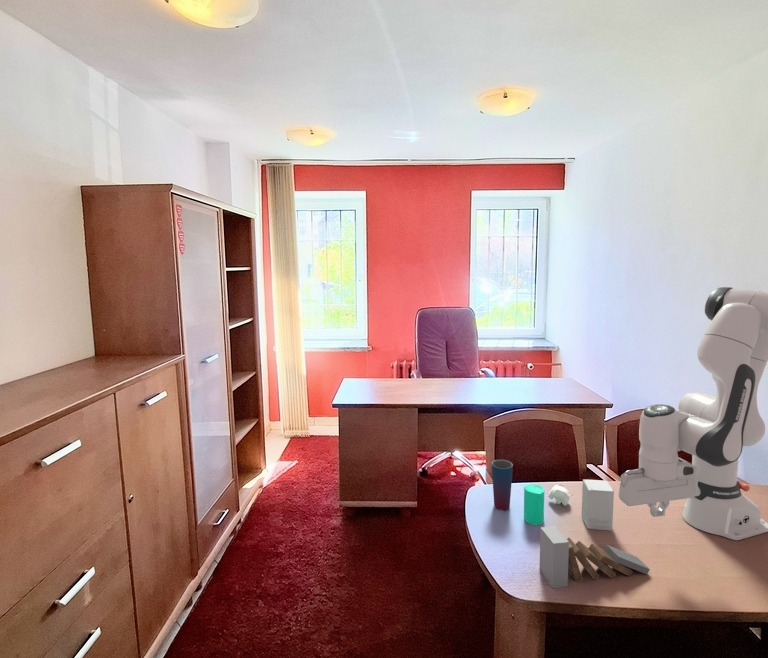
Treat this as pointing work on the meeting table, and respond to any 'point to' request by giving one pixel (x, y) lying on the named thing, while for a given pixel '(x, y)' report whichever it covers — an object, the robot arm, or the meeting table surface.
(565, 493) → the elephant figurine
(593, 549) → the domino
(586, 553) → the domino
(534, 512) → the candle
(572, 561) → the domino
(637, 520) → the meeting table surface
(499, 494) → the cup
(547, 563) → the end block
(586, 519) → the supplement box
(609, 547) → the gray domino
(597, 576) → the domino
